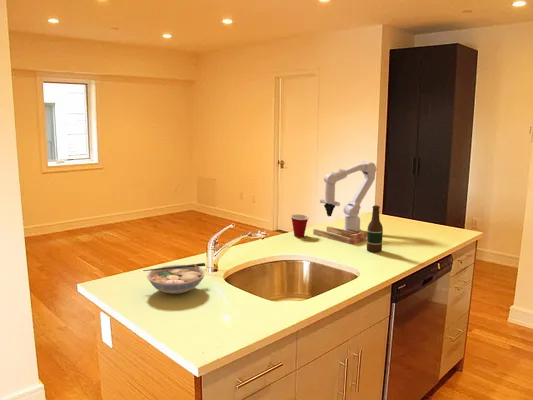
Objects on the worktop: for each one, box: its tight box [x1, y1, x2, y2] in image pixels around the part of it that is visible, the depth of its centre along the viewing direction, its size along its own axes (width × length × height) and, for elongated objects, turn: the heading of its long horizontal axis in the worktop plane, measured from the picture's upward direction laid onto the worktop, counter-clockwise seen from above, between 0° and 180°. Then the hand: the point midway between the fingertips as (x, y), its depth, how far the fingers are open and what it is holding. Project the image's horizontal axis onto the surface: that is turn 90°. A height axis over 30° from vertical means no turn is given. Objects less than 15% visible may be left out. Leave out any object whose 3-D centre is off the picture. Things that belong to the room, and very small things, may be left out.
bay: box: [312, 226, 367, 245], centre depth 266 cm, size 13×30×5 cm, turn 40°
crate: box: [341, 229, 360, 238], centre depth 260 cm, size 7×7×5 cm
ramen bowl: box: [142, 262, 206, 295], centre depth 181 cm, size 25×23×8 cm
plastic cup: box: [290, 214, 310, 238], centre depth 268 cm, size 11×11×12 cm
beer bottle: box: [366, 205, 384, 254], centre depth 237 cm, size 8×8×24 cm
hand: (329, 216), depth 278 cm, fingers closed
